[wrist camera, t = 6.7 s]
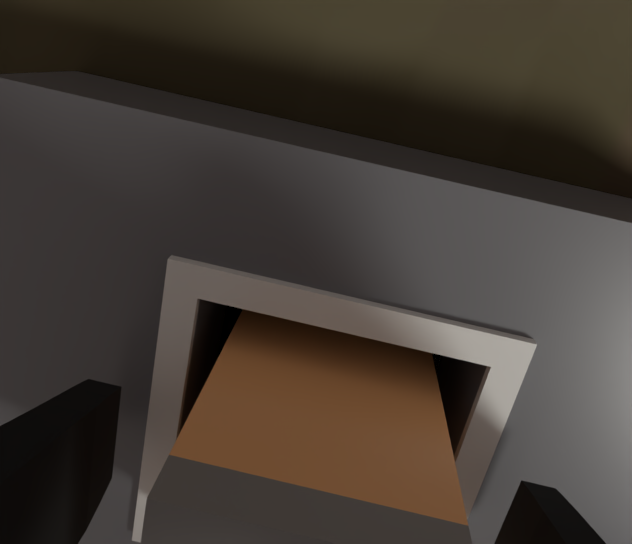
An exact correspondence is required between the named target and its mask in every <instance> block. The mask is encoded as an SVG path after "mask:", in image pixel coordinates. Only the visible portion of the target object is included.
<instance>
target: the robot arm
mask: <svg viewBox="0 0 632 544" xmlns="http://www.w3.org/2000/svg"><path fill="white" fill-rule="evenodd" d="M121 388H122V387H121V386H117V385H112V384H108V383H104V382H100V381H95V380H91V379H87V380H85V381H83V382H81V383H79V384H77V385H75V386H73V387H71V388H70V389H68V390H66V391H64V392H62V393H60V394H59V395H57V396H55V397H53V398H51V399H50V400H48V401H46V402H44V403H42V404H40V405H39V406H37V407H35V408H33V409H31V410H30V411H28V412H26V413H24V414H22V415H20V416H18V417H16V418H14V419H12V420H11V421H9V422H7V423H5V424H3V425H1V426H0V544H78V543H79V541H80V540H81V538H82V536H83V535H84V533H85V532H86V530H87V528H88V526H89V524H90V522H91V520H92V518H93V516H94V514H95V512H96V510H97V508H98V506H99V504H100V502H101V500H102V498H103V496H104V494H105V492H106V490H107V488H108V485H109V483H110V481H111V479H112V473H113V464H114V454H115V445H116V435H117V426H118V416H119V407H120V398H121ZM494 544H606V543H605V542H604V541H603V539H602V538H601V537H600V536H599V535H598V534H597V533H596V531H595V530H594V529H593V528H592V527H591V526H590V525H589V524H588V522H587V521H586V520H585V519H584V518H583V517H582V516H581V515H580V514H579V512H578V511H577V510H576V509H575V508H574V507H573V506H572V505H571V504H570V503H569V502H568V500H567V499H566V498H565V497H564V496H563V495H562V494H561V493H560V492H559V491H558V490H557V489H556V488H552V487H548V486H544V485H539V484H535V483H531V482H527V481H522V480H521V482H520V485H519V487H518V489H517V492H516V494H515V496H514V499H513V501H512V503H511V506H510V508H509V510H508V513H507V515H506V517H505V520H504V522H503V524H502V527H501V529H500V531H499V534H498V536H497V538H496V541H495V543H494Z"/></svg>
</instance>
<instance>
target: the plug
mask: <svg viewBox="0 0 632 544" xmlns="http://www.w3.org/2000/svg"><path fill="white" fill-rule="evenodd" d="M140 544H472V540H471V535H470V531H469V526H468V521H467V517H466V512H465V507H464V502H463V498H462V493H461V488H460V484H459V479H458V474H457V469H456V465H455V460H454V455H453V450H452V446H451V441H450V436H449V432H448V427H447V422H446V417H445V413H444V408H443V403H442V399H441V394H440V389H439V384H438V380H437V375H436V370H435V366H434V361H433V356H432V353H429V352H425V351H421V350H417V349H412V348H408V347H404V346H399V345H395V344H391V343H386V342H382V341H378V340H374V339H369V338H365V337H361V336H356V335H352V334H348V333H344V332H339V331H335V330H331V329H326V328H322V327H318V326H313V325H309V324H305V323H301V322H296V321H292V320H288V319H283V318H279V317H275V316H270V315H266V314H262V313H258V312H253V311H249V310H245V309H243V310H242V312H241V314H240V316H239V318H238V320H237V321H236V323H235V325H234V327H233V329H232V331H231V333H230V335H229V337H228V339H227V341H226V343H225V345H224V347H223V349H222V351H221V353H220V355H219V357H218V359H217V361H216V363H215V365H214V367H213V369H212V371H211V373H210V375H209V377H208V379H207V381H206V383H205V385H204V387H203V389H202V390H201V392H200V394H199V396H198V398H197V400H196V402H195V404H194V406H193V408H192V410H191V412H190V414H189V416H188V418H187V420H186V422H185V424H184V426H183V428H182V430H181V432H180V434H179V436H178V438H177V440H176V442H175V444H174V446H173V448H172V450H171V452H170V454H169V456H168V457H167V459H166V461H165V463H164V465H163V467H162V469H161V471H160V473H159V475H158V477H157V479H156V481H155V483H154V485H153V487H152V489H151V491H150V493H149V495H148V497H147V500H146V507H145V514H144V522H143V529H142V536H141V543H140Z"/></svg>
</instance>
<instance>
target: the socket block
mask: <svg viewBox="0 0 632 544" xmlns="http://www.w3.org/2000/svg"><path fill="white" fill-rule="evenodd" d="M226 305H228V306H232V307H236V308H240V309H245V310H249V311H253V312H258V313H262V314H266V315H270V316H275V317H279V318H283V319H288V320H292V321H296V322H301V323H305V324H309V325H313V326H318V327H322V328H326V329H331V330H335V331H339V332H344V333H348V334H352V335H356V336H361V337H365V338H369V339H374V340H378V341H382V342H386V343H391V344H395V345H399V346H404V347H408V348H412V349H417V350H421V351H425V352H429V353H434V354H438V355H442V356H443V357H442V360H441V363H440V366H439V369H438V372H437V380H438V384H439V389H440V394H441V399H442V403H443V408H444V413H445V417H446V422H447V427H448V432H449V436H450V441H451V446H452V450H453V455H454V460H455V465H456V469H457V474H458V479H459V484H460V488H461V493H462V498H463V502H464V507H465V512H466V517H467V521H468V526H469V531H470V535H471V540H472V544H494V543H495V541H496V538H497V536H498V534H499V531H500V529H501V527H502V524H503V522H504V520H505V517H506V515H507V513H508V510H509V508H510V506H511V503H512V501H513V499H514V496H515V494H516V492H517V489H518V487H519V485H520V482H521V480H522V481H527V482H531V483H535V484H539V485H544V486H548V487H552V488H556V489H557V490H558V491H559V492H560V493H561V494H562V495H563V496H564V497H565V498H566V499H567V500H568V502H569V503H570V504H571V505H572V506H573V507H574V508H575V509H576V510H577V511H578V512H579V514H580V515H581V516H582V517H583V518H584V519H585V520H586V521H587V522H588V524H589V525H590V526H591V527H592V528H593V529H594V530H595V531H596V533H597V534H598V535H599V536H600V537H601V538H602V539H603V541H604V542H605V543H606V544H632V199H631V198H627V197H622V196H618V195H614V194H609V193H605V192H601V191H596V190H592V189H588V188H583V187H579V186H575V185H570V184H566V183H562V182H557V181H553V180H549V179H544V178H540V177H535V176H531V175H527V174H522V173H518V172H514V171H509V170H505V169H501V168H496V167H492V166H488V165H483V164H479V163H475V162H470V161H466V160H462V159H457V158H453V157H449V156H444V155H440V154H436V153H431V152H427V151H423V150H418V149H414V148H409V147H405V146H401V145H396V144H392V143H388V142H383V141H379V140H375V139H370V138H366V137H362V136H357V135H353V134H349V133H344V132H340V131H336V130H331V129H327V128H323V127H318V126H314V125H310V124H305V123H301V122H296V121H292V120H288V119H283V118H279V117H275V116H270V115H266V114H262V113H257V112H253V111H249V110H244V109H240V108H236V107H231V106H227V105H223V104H218V103H214V102H210V101H205V100H201V99H197V98H192V97H188V96H183V95H179V94H175V93H170V92H166V91H162V90H157V89H153V88H149V87H144V86H140V85H136V84H131V83H127V82H123V81H118V80H114V79H110V78H105V77H101V76H97V75H92V74H88V73H84V72H79V71H61V72H36V73H11V74H0V426H1V425H3V424H5V423H7V422H9V421H11V420H12V419H14V418H16V417H18V416H20V415H22V414H24V413H26V412H28V411H30V410H31V409H33V408H35V407H37V406H39V405H40V404H42V403H44V402H46V401H48V400H50V399H51V398H53V397H55V396H57V395H59V394H60V393H62V392H64V391H66V390H68V389H70V388H71V387H73V386H75V385H77V384H79V383H81V382H83V381H85V380H87V379H91V380H95V381H100V382H104V383H108V384H112V385H117V386H121V387H122V388H121V398H120V407H119V416H118V426H117V435H116V445H115V454H114V464H113V473H112V479H111V481H110V483H109V485H108V488H107V490H106V492H105V494H104V496H103V498H102V500H101V502H100V504H99V506H98V508H97V510H96V512H95V514H94V516H93V518H92V520H91V522H90V524H89V526H88V528H87V530H86V532H85V533H84V535H83V536H82V538H81V540H80V541H79V543H78V544H140V543H141V536H142V529H143V522H144V514H145V507H146V500H147V497H148V495H149V493H150V491H151V489H152V487H153V485H154V483H155V481H156V479H157V477H158V475H159V473H160V471H161V469H162V467H163V465H164V463H165V461H166V459H167V457H168V456H169V454H170V452H171V450H172V448H173V446H174V444H175V442H176V440H177V438H178V436H179V434H180V432H181V430H182V428H183V426H184V424H185V422H186V420H187V418H188V416H189V414H190V412H191V410H192V408H193V406H194V404H195V402H196V400H197V398H198V396H199V394H200V392H201V390H202V389H203V387H204V385H205V383H206V381H207V379H208V377H209V375H210V373H211V371H212V369H213V367H214V365H215V363H216V361H217V358H218V352H219V346H220V340H221V334H222V329H223V323H224V317H225V311H226Z"/></svg>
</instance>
